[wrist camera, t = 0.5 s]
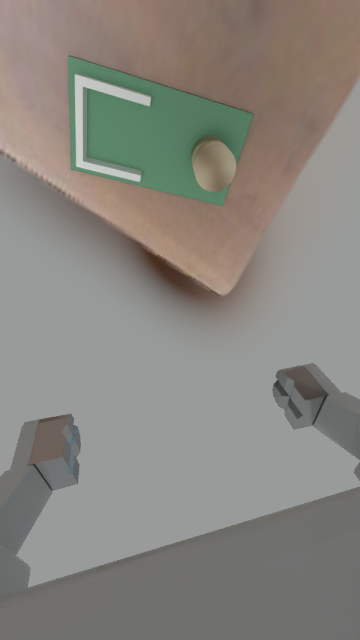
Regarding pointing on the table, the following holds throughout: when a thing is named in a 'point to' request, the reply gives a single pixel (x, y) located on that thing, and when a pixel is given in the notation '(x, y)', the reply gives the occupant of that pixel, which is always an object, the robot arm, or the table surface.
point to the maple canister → (213, 163)
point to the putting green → (145, 130)
